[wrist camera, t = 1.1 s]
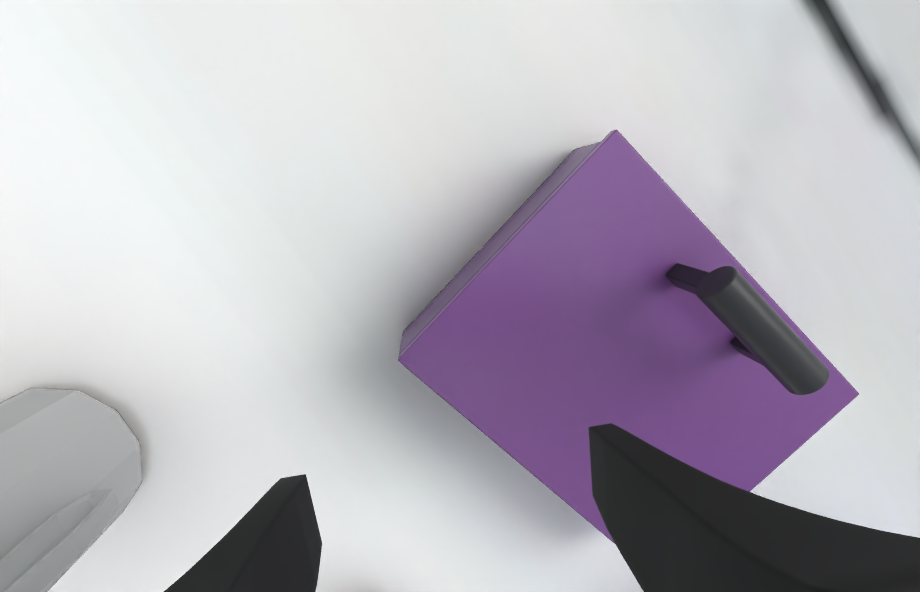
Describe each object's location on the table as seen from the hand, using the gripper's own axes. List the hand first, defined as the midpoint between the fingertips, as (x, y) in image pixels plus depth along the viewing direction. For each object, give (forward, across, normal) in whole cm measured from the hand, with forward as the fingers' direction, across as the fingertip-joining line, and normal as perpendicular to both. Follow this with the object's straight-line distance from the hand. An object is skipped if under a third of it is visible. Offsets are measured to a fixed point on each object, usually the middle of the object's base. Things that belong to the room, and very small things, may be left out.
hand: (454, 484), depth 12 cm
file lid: (+7, -8, +1) cm, 11 cm away
